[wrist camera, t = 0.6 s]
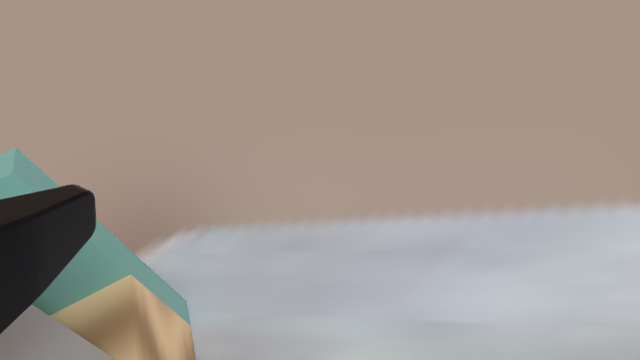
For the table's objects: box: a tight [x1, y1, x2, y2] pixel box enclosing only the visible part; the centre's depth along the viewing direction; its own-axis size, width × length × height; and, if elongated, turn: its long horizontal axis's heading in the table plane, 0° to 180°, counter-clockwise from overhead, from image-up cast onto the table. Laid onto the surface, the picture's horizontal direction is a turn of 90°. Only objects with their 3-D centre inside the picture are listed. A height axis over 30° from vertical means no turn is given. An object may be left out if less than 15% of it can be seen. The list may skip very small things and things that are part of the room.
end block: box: [0, 148, 190, 325], centre depth 25 cm, size 2×11×12 cm, turn 109°
